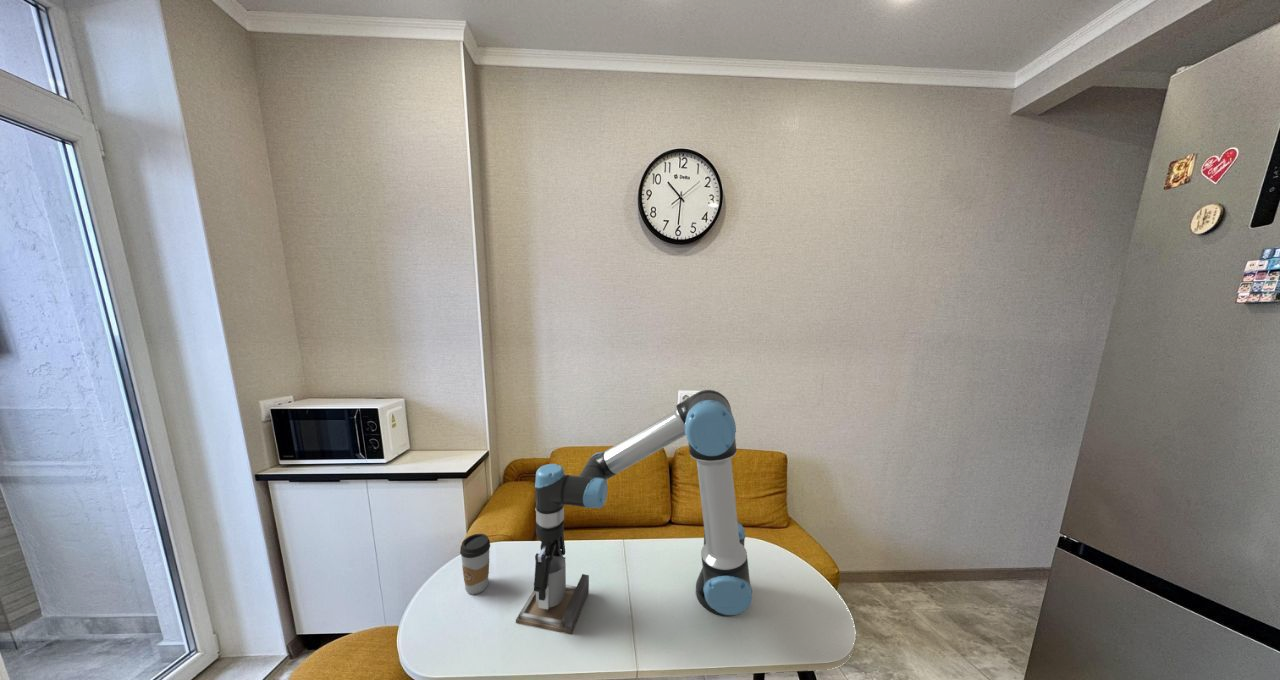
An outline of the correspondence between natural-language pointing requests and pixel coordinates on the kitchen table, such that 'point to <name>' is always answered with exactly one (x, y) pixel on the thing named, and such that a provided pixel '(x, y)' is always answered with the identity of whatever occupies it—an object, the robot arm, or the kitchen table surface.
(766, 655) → the kitchen table surface
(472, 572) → the coffee cup
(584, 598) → the brown flat tray-like piece
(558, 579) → the cup
